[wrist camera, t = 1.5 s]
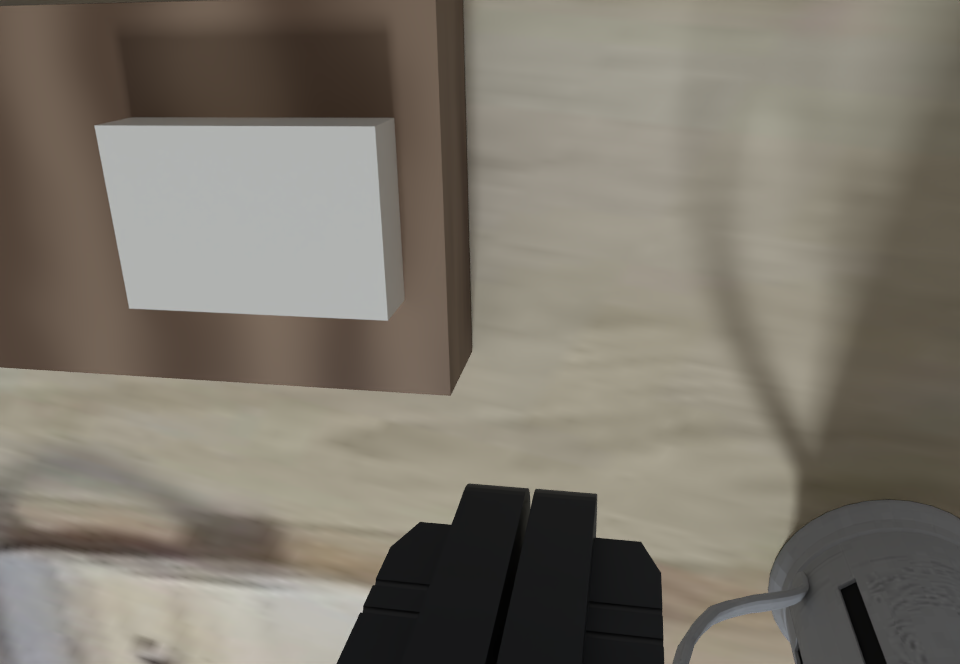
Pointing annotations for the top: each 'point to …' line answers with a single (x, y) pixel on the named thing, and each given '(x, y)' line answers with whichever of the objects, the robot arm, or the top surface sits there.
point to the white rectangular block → (256, 214)
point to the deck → (232, 94)
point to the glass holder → (861, 588)
